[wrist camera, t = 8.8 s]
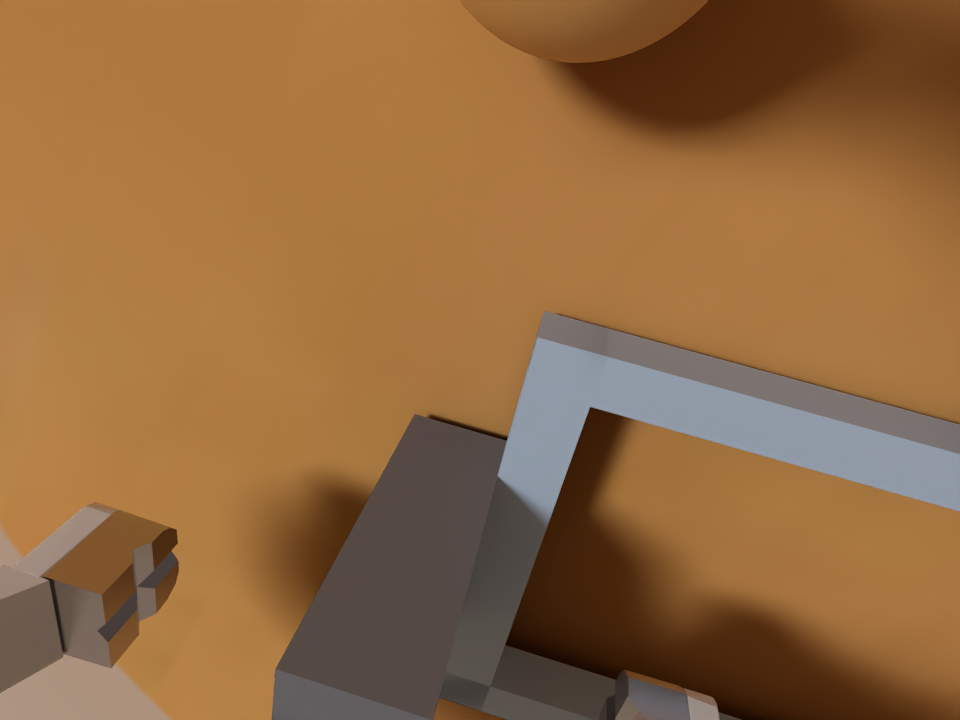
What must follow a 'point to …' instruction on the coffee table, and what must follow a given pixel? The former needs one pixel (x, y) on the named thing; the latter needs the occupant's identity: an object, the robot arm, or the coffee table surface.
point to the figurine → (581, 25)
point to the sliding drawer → (526, 513)
